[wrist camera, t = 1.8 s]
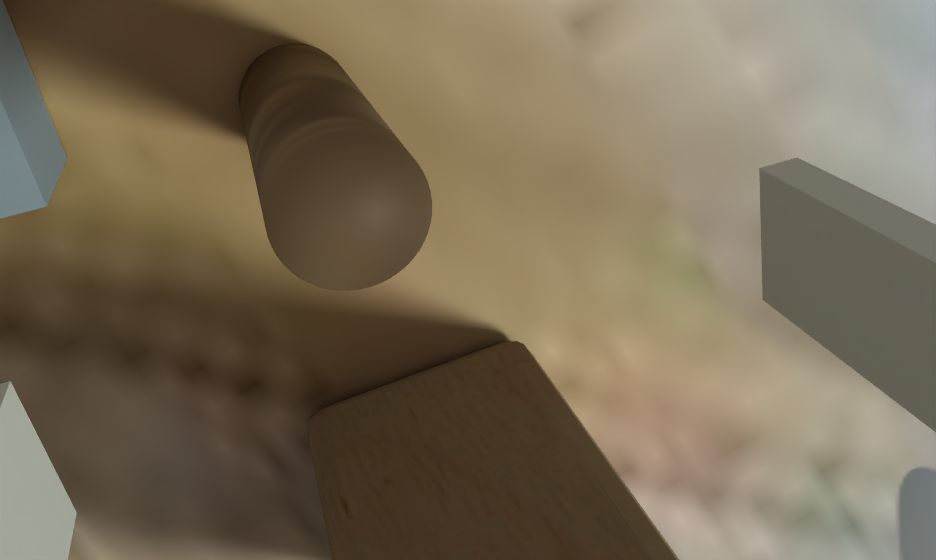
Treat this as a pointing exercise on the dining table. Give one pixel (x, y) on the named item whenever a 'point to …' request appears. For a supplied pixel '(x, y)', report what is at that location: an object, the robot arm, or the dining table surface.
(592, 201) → the dining table surface
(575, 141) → the dining table surface
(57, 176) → the socket block
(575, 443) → the wooden block
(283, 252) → the walnut peg
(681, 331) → the dining table surface
